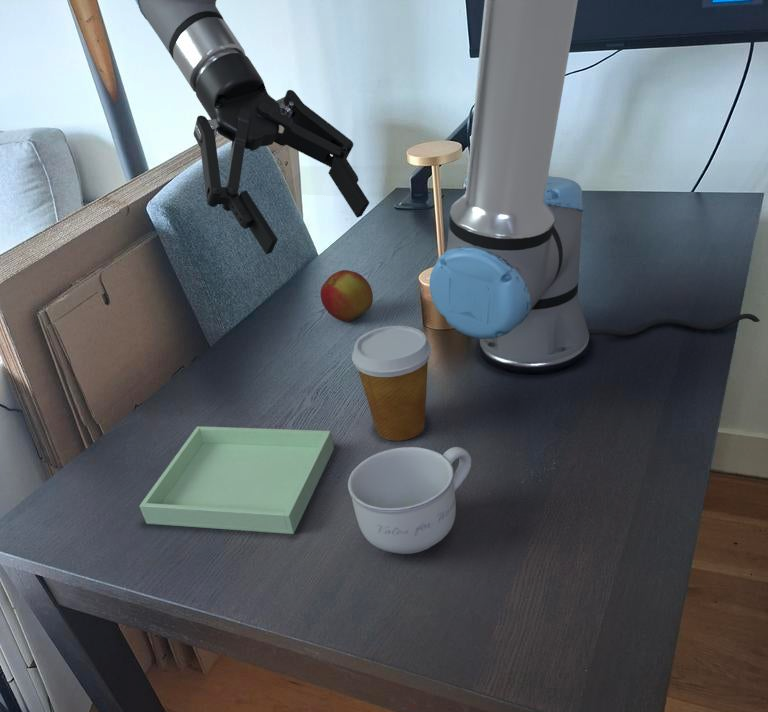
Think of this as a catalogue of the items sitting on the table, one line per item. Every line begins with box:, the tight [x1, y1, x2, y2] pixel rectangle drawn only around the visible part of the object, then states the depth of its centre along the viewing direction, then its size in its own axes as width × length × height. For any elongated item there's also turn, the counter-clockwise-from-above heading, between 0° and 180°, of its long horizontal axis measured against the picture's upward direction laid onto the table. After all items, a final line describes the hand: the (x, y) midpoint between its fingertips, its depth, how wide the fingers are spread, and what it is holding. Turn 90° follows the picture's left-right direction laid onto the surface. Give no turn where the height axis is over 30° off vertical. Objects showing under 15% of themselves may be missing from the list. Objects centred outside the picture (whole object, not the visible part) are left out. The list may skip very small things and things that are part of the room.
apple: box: [320, 269, 374, 323], centre depth 121 cm, size 8×8×8 cm
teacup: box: [347, 446, 472, 555], centre depth 79 cm, size 14×11×8 cm
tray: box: [138, 425, 335, 535], centre depth 91 cm, size 18×16×3 cm
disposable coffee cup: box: [351, 325, 432, 442], centre depth 93 cm, size 10×10×12 cm
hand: (319, 228), depth 89 cm, fingers open, 13 cm apart
